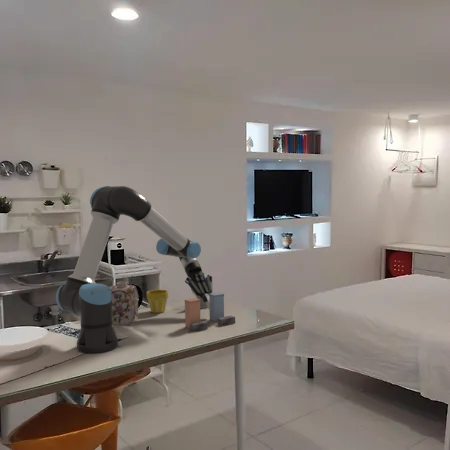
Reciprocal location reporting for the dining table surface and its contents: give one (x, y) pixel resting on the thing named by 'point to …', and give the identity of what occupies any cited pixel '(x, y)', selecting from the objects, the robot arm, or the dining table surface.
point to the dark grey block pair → (204, 325)
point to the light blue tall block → (216, 306)
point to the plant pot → (157, 300)
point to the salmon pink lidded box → (192, 311)
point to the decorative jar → (124, 304)
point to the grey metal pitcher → (202, 303)
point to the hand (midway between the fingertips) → (211, 307)
